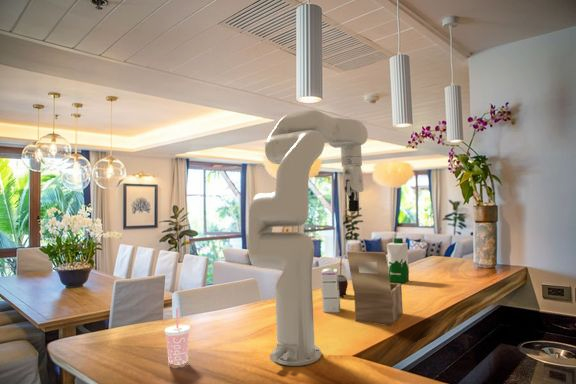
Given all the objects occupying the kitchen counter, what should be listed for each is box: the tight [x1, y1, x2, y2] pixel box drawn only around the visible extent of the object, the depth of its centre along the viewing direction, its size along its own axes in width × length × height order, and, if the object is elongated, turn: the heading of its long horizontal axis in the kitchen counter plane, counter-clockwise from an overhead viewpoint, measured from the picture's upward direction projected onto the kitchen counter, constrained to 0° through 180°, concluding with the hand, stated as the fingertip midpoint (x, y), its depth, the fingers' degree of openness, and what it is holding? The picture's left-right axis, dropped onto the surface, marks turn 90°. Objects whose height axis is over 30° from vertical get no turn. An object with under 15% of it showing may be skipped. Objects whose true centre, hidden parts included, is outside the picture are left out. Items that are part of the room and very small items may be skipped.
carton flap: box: [346, 250, 391, 294], centre depth 118 cm, size 14×12×1 cm
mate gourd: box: [338, 256, 349, 298], centre depth 157 cm, size 8×8×15 cm
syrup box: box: [320, 268, 341, 313], centre depth 136 cm, size 6×6×14 cm
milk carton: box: [386, 237, 410, 285], centre depth 178 cm, size 9×9×20 cm
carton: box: [353, 283, 404, 326], centre depth 126 cm, size 14×12×10 cm
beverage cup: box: [164, 307, 191, 365], centre depth 95 cm, size 6×6×14 cm
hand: (353, 211), depth 142 cm, fingers closed
